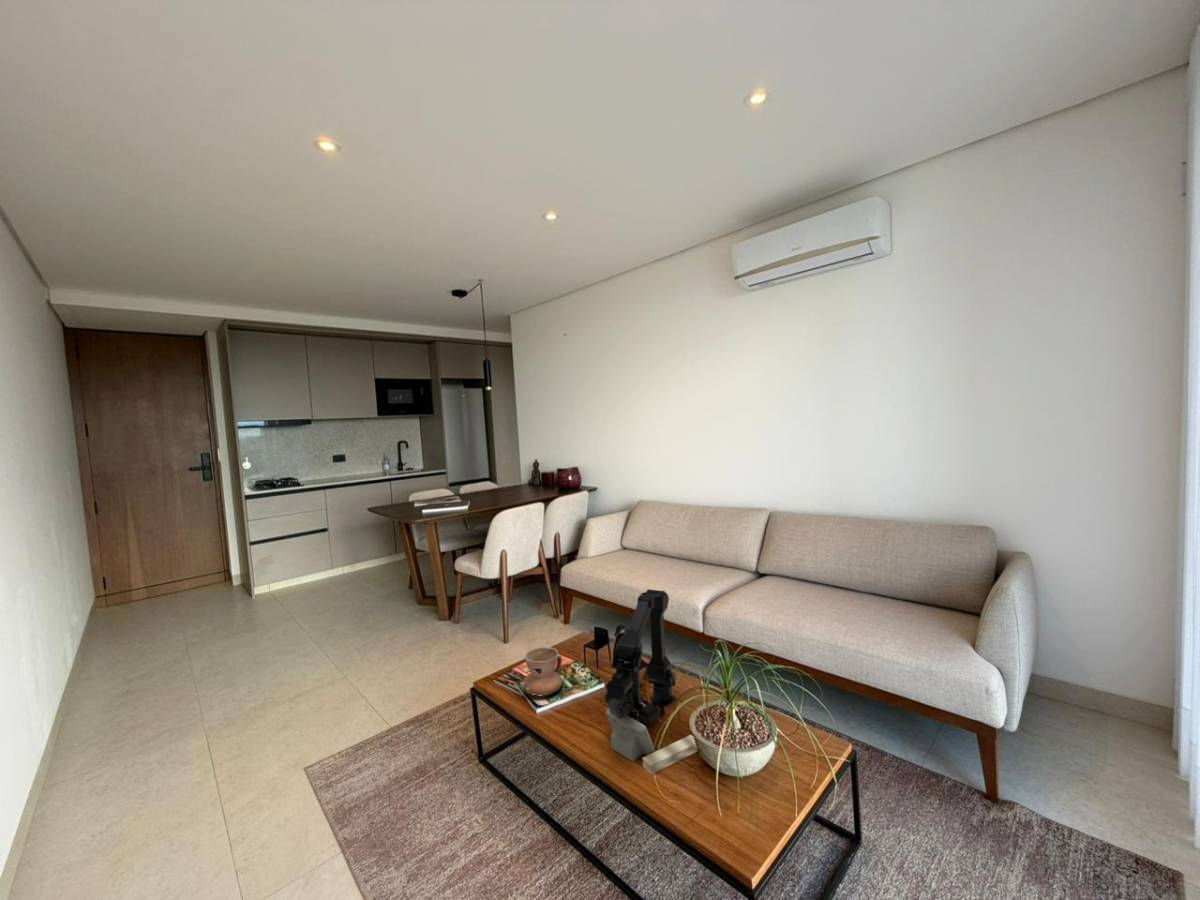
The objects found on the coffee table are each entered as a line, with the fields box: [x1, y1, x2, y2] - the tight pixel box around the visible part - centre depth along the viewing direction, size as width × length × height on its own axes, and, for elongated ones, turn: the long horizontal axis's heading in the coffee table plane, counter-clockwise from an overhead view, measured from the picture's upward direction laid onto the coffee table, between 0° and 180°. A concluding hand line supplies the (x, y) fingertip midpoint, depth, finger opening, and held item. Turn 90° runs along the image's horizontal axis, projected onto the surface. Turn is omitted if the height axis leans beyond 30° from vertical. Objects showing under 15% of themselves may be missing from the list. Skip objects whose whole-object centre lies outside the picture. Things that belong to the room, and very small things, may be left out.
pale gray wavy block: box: [642, 734, 698, 776], centre depth 143 cm, size 18×4×3 cm, turn 120°
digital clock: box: [605, 707, 656, 762], centre depth 149 cm, size 16×9×11 cm, turn 32°
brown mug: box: [522, 646, 563, 695], centre depth 185 cm, size 18×14×14 cm
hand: (633, 731), depth 152 cm, fingers closed
